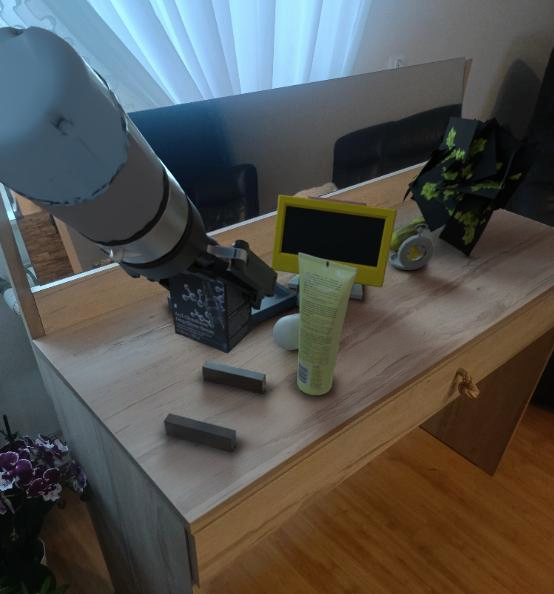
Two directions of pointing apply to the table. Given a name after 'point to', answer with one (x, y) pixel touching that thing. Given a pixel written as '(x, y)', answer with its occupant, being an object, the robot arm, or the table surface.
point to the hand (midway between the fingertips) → (221, 293)
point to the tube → (321, 320)
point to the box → (209, 311)
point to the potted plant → (467, 181)
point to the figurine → (287, 332)
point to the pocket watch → (413, 252)
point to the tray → (270, 304)
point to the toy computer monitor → (333, 237)
